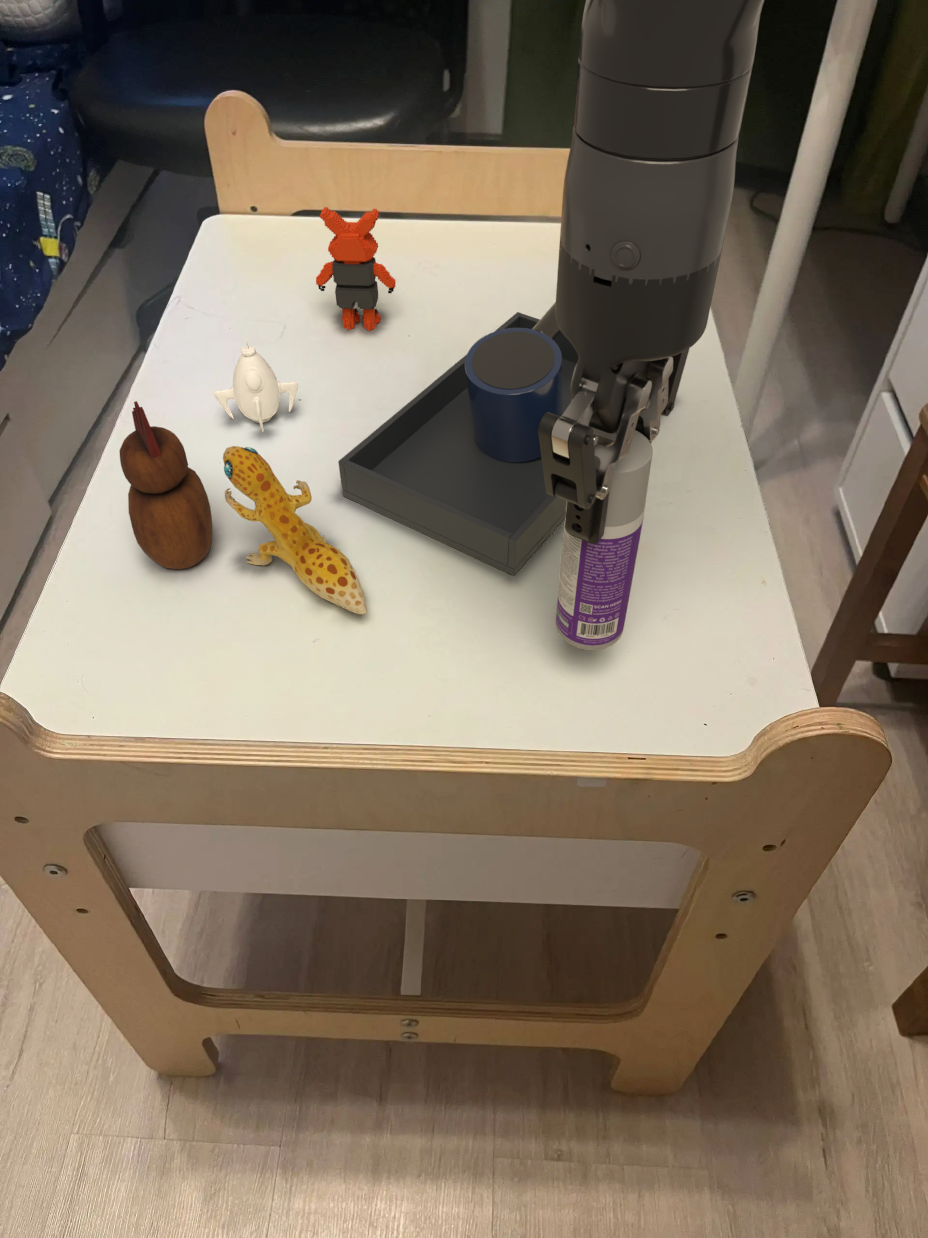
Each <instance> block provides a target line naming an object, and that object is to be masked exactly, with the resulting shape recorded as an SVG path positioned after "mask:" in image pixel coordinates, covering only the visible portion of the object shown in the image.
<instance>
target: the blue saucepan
mask: <svg viewBox="0 0 928 1238" xmlns="http://www.w3.org/2000/svg"><path fill="white" fill-rule="evenodd" d="M555 305H556V301H555V302H554V303H553V304H552V305H551V306H550V307H549V308H548V310H547V311H546V312H545V313H544V314H543V316H542V317H541V318H540V321H539V322H538V323H537V324H536V325H535V326H534V328H533V329H528V328H507V329H502V330H498V331H495V330H494V331H495V332H494V331H492V332H490V333H488V334H486V335H484V336H483V337H481V338H479V339H478V340H477V341H475V342H474V343H473V345H471V347H470V348H469V349H468V351H467V353H466V355H467V356H466V358H465V373H466V380H467V387H468V395H469V402H470V410H471V417H472V424H473V432H474V438H475V441H476V443H477V445H478V446H479V448H480V449H481V450H482V451H483V452H484V453H486V454H487V455H489V456H490V457H492V458H494V459H497V460H500V461H504V462H514V463H518V462H526V461H531V460H535V459H537V458H540V457H541V449H540V442H539V434H538V428H539V424H540V421H541V419H542V417H543V416H544V414H545V413H547V412H549V413H552V414H555V415H558V416H560V417H561V416H562V415H563V388H562V354H561V351H560V349H559V347H558V345H557V344H556V342H555V341H554V339H555V338H556V337H557V336H558V335H559V333H560V332H561V331H560V329H559V327H558V325H557V322H556V318H555Z"/></svg>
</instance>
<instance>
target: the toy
mask: <svg viewBox="0 0 928 1238" xmlns="http://www.w3.org/2000/svg"><path fill="white" fill-rule="evenodd" d="M222 460H223V472H224V475H225V476H226V477H227V479H228V480H229V481H230V483H231V484H232V486H233V487H234V488H235V489H236V490H238V491H239V492H241V493H242V494H243V495H244V496H245V497H247V498H248V499H250V500H251V501H253V502H254V506H255V507H254V508H253V509H251V508H248V507H246V506H244V505H243V504H241V503H240V502H238V501H237V500H236V499H235V497H233V496H232V494H233V493H232V490H231V488H226V489H225V490H224V499H225V502H226V504H228V505H229V507H230V508H232V510H234V511H235V512H236V513H237V514H238V515H239V516H240V517H241V518H242V519H244V520H246V521H250V522H257V523H258V522H259V523H261V524H262V525H263V526H264V527H265V528H266V529H267V531H268V532H269V534H270V535H271V536H272V538H273V539H274V540H270V541H267V542H264V543H260V544H259V546H258V548H257V549H258V553H255V552H249V553H248V555H247V556H245V559H248V560H247V561H246V563H247V564H250V565H255V566H267V565H269V564H270V563H272V561H273V556H275V557H278V559H280V560H282V561H283V562H285V563H286V564H288V565H289V566H291V569H292V570H293V571H294V573H295V575H296V576H297V578H298V579H299V580H300V582H302V584H304V585H305V586H306V587H307V588H308V589H309V590H310V591H311V592H313V593H314V594H315V595H317V596H318V597H320V598H322V599H323V600H326V601H328V602H329V603H332V604H334V605H336V606H338V607H340V608H343V609H344V610H347V611H349V612H351V613H354V614H356V615H365V614H367V602H366V598H365V594H364V589H363V587H362V585H361V582H360V579H359V577H358V575H357V573H356V571H355V568H354V566H353V565H352V563H351V561H350V559H349V558H348V557H347V556H346V555H345V554H344V553H343V552H342V551H340V549H338V548H336V547H334V546H332V545H331V544H329V543H327V540H326V537H325V535H324V534H322V535H321V534H320V533H319V531H318V529H317V528H315V526H313V525H311V524H309V523H307V522H305V521H304V520H303V519H302V518H301V516H299V514H297V513H296V510H297V509H299V508H302V507H304V506H307V505H309V504H310V503H311V502H312V498H313V497H312V493H311V489H310V486H309V485H308V482H306V481H303V480H299V479H298V480H297V479H296V482H295V483H296V485H294V486H293V490H296V489H297V490H300V492H301V494H295V495H294V494H290V493H288V492H287V491H286V489H285V488H284V486H283V485H282V483H281V482H280V480H279V479H278V477H277V476H276V475H275V473H274V471H273V469H272V467H271V465H270V464H269V463H268V461H266V460H265V458H263V457H262V456H261V454H259V452H258V450H256V449H255V448H253V447H249V446H245V447H242V446H239V445H233V446H229V447H226V448H225V450H224V452H223V454H222Z"/></svg>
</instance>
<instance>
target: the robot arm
mask: <svg viewBox="0 0 928 1238" xmlns="http://www.w3.org/2000/svg"><path fill="white" fill-rule="evenodd" d="M764 3H765V0H585V4H584V8H583V14H582V20H581V27H580V34H579V44H578V54H577V55H578V58H577V67H576V68H577V69H576V82H575V83H576V84H575V97H574V111H573V112H574V113H573V127H572V132H571V133H572V136H571V142H570V148H569V153H568V157H567V158H568V159H567V162H566V167H565V173H564V179H563V187H562V201H561V216H560V232H559V244H558V245H559V247H558V248H559V249H558V261H557V262H558V263H557V276H556V277H557V278H556V279H557V280H556V291H555V292H556V293H555V302H556V305H555V318H556V322H557V325H558V327H559V329H560V331H561V332H562V334H563V335H564V336H565V337H566V338H567V339H568V341H569V342H570V343H571V344H572V346H573V347H574V349H575V350H576V352H577V354H578V357H579V359H578V361H577V364H576V366H575V369H574V373H573V377H572V381H571V386H570V389H571V398H572V400H571V403H570V405H569V406H568V407H567V409H566V410H565V412H564V413H563V415H562V416H561V417H560V416H558V415H555V414H552V413H549V412H547V413H545V414H544V416H543V417H542V419H541V421H540V424H539V428H538V434H539V442H540V449H541V457H542V465H543V472H544V480H545V488H546V493H547V494H550V495H552V496H554V497H556V496H557V497H559V498H562V499H564V500H567V510H566V521H565V520H564V523H565V529H566V531H567V533H568V534H570V535H571V536H574V537H576V538H578V539H581V540H583V541H586V542H588V543H591V544H596V543H597V542H598V541H599V540H600V539H601V537H602V536H603V535H604V529H605V522H606V514H607V507H608V500H609V492H610V485H611V481H612V478H613V474H614V470H615V467H616V463H617V461H619V460H621V459H622V458H624V457H625V456H627V455H628V453H629V450H630V446H631V442H632V439H633V435H634V432H635V430H636V431H638V432H640V433H641V434H643V435H644V436H645V437H646V438H647V439H648V440H649V442H650V443H651V444H652V442H653V441H654V440H655V439H656V437H658V435H659V433H660V430H661V416H663V417H668V416H669V415H670V414H671V413H672V412H673V411H674V408H675V405H676V404H675V402H676V399H677V395H678V391H679V387H680V384H681V381H682V378H683V377H682V376H683V373H684V370H685V366H686V362H687V359H688V356H689V352H690V349H691V348H692V347H693V346H694V345H695V344H696V343H698V341H699V340H701V338H702V337H703V335H704V333H705V331H706V329H707V325H708V322H709V321H708V320H709V315H710V311H711V306H712V301H713V296H714V291H715V286H716V282H717V277H718V271H719V267H720V261H721V258H722V257H721V256H722V252H723V247H724V242H725V237H726V232H727V227H728V222H729V219H730V213H731V207H732V203H733V197H734V191H735V180H736V165H737V163H736V162H737V153H738V152H737V151H738V144H739V134H740V132H741V127H742V122H743V119H744V112H745V107H746V103H747V97H748V92H749V87H750V82H751V77H752V72H753V65H754V62H755V57H756V56H755V55H756V50H757V49H756V48H757V43H758V35H759V26H760V19H761V15H762V14H761V13H762V10H763V6H764ZM589 426H590V427H589ZM591 427H593V428H595V429H598V430H601V431H604V432H606V433H610V434H613V433H616V434H617V435H616V439H615V441H613V440H610V439H608V438H605V437H602V436H599V435H597V434H594V431H593V428H591ZM595 456H596V457H598V458H599V459H600V467H599V471H598V474H596V470H595Z"/></svg>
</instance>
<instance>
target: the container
mask: <svg viewBox="0 0 928 1238" xmlns="http://www.w3.org/2000/svg"><path fill="white" fill-rule="evenodd" d="M592 428H593V427H592ZM593 431H594V434H597V435H599V436H602V437H605V438H608V439H610V440H613V441H615V439H616V435H617V434H616V433H613V434H610V433H606V432H604V431H601V430H598V429H595V428H593ZM649 441H650V440H648V439H647V438H646V437H645V436H644V435H643V434H641V433H640V432H638V431H636V430H635V432H634V435H633V439H632V442H631V446H630V450H629V453H628V455H627V456H625V457H624V458H622V459H621V460H619V461H617V463H616V467H615V470H614V474H613V478H612V481H611V485H610V492H609V500H608V507H607V514H606V522H605V529H604V535H603V536H602V537H601V539H600V540H599V541H598V542H597V543H596V544H591V543H588V542H586V541H583V540H581V539H578V538H576V537H574V536H571V535H570V534H568V533H567V531H566V529H565V521H566V512H565V518H564V522H563V523H564V524H563V533H562V535H563V536H562V547H561V557H560V567H559V579H558V590H557V600H556V613H555V628H556V631H557V633H558V635H559V636H560V637H561V638H562V640H563V641H565V642H566V643H567V644H569V645H571V646H572V647H575V648H578V649H581V650H585V651H586V650H587V651H597V650H598V651H599V650H605V649H607V648H609V647H610V646H613V645H615V644H616V643H617V642H618V641H619V640H620V639H621V637H622V635H623V634H624V629H625V624H626V617H627V613H628V607H629V600H630V596H631V594H630V593H631V590H632V584H633V578H634V573H635V567H636V561H637V556H638V551H639V545H640V539H641V535H642V534H641V533H642V528H643V522H644V517H645V508H646V501H647V495H648V488H649V480H650V475H651V466H652V460H653V452H654V451H653V445H652V442H651V443H650V442H649ZM599 467H600V459H599V458H598V457H596V456H595V470H596V474H598V471H599ZM566 510H567V504H566Z"/></svg>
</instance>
